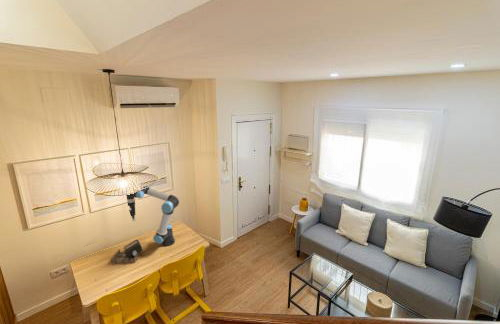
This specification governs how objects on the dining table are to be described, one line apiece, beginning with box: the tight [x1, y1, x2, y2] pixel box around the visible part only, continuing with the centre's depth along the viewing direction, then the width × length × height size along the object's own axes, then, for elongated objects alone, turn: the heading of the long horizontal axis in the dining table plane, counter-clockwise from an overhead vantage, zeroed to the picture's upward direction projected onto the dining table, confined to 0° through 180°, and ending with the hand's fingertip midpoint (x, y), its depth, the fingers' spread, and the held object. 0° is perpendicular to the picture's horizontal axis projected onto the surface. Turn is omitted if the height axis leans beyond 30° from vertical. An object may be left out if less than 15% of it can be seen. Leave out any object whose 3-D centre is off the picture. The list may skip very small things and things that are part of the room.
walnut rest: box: [110, 249, 142, 265], centre depth 262 cm, size 24×18×5 cm
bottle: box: [123, 239, 143, 258], centre depth 265 cm, size 8×16×25 cm
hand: (134, 220), depth 277 cm, fingers closed
